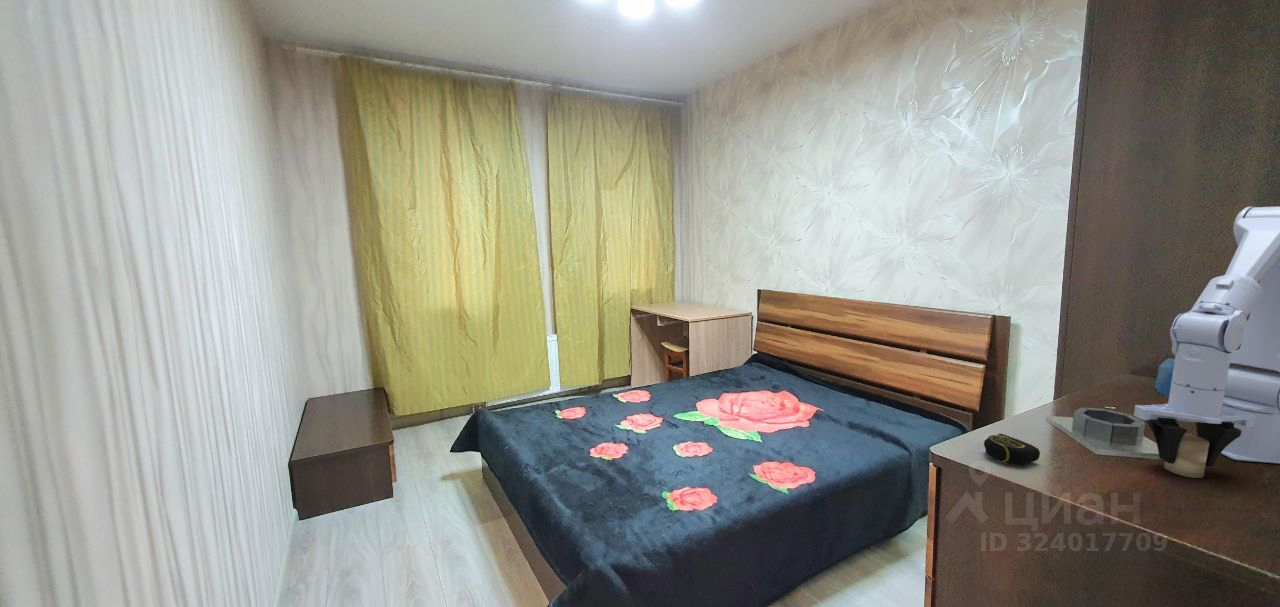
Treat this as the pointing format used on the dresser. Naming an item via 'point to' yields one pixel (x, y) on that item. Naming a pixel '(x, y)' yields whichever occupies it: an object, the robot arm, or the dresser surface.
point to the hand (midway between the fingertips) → (1184, 462)
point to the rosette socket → (1107, 433)
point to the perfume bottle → (1165, 376)
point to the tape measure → (1010, 450)
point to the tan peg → (1190, 457)
